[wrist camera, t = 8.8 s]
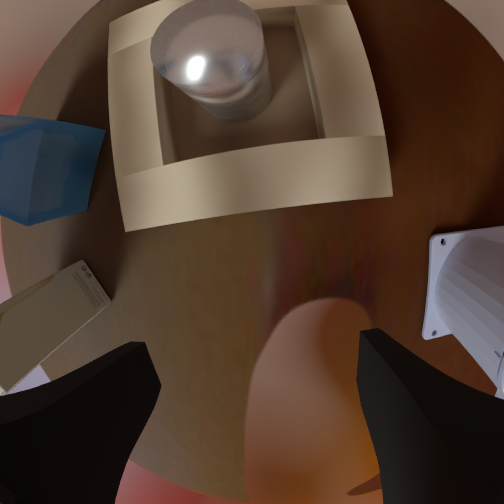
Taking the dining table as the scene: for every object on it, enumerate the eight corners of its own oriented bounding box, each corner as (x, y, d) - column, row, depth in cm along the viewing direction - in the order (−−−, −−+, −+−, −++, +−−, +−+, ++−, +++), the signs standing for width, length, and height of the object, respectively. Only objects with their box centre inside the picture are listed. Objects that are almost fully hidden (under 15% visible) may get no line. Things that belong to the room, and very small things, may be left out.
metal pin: (267, 57, 13) (253, -12, 6) (276, 117, 14) (270, 72, 7) (200, 69, 14) (150, 14, 7) (206, 128, 14) (151, 97, 8)
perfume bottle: (86, 210, 18) (-49, 252, 6) (40, 190, 18) (-73, 216, 6) (106, 129, 16) (-39, 114, 5) (56, 120, 16) (-62, 113, 5)
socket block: (327, 1, 12) (333, -27, 9) (371, 192, 15) (392, 196, 12) (134, 40, 14) (109, 22, 11) (152, 221, 17) (125, 231, 14)
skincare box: (84, 256, 19) (-38, 321, 7) (114, 301, 19) (6, 393, 8) (53, 292, 20) (-41, 353, 9) (79, 330, 21) (-6, 406, 9)
